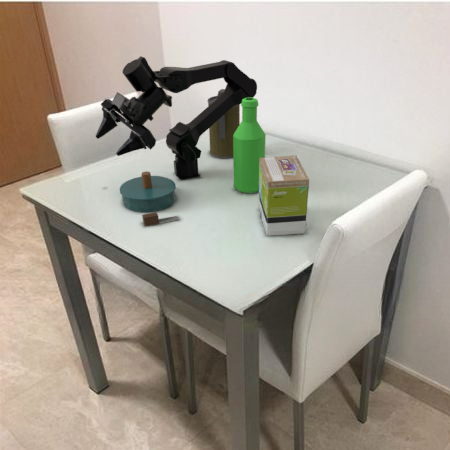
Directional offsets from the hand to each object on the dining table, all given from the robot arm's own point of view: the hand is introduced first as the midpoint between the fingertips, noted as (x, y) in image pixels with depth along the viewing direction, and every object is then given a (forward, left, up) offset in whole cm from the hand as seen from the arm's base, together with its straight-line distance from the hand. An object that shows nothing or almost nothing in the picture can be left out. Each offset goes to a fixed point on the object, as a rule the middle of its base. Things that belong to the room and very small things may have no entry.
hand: (106, 146), depth 133 cm
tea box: (-38, +32, -15) cm, 51 cm away
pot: (-9, +7, -15) cm, 18 cm away
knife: (-9, +20, -15) cm, 26 cm away
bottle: (-38, +10, -15) cm, 41 cm away
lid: (-9, +7, -11) cm, 15 cm away
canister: (-41, -19, -15) cm, 47 cm away
